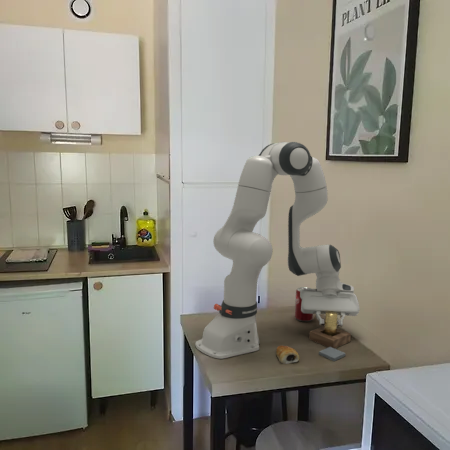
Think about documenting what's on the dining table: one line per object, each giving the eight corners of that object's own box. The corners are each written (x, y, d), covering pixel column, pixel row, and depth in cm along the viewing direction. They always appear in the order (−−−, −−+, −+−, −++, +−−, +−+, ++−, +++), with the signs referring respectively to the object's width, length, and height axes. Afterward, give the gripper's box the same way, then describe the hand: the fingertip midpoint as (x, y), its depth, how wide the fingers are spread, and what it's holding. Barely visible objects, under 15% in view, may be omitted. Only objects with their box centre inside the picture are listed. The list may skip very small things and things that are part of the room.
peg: (330, 343, 152) (332, 316, 151) (321, 340, 155) (323, 312, 154) (337, 341, 155) (339, 313, 153) (328, 337, 158) (330, 310, 156)
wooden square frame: (333, 349, 148) (333, 340, 148) (309, 339, 155) (309, 331, 155) (350, 341, 154) (350, 333, 154) (326, 332, 162) (327, 324, 161)
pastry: (271, 351, 145) (271, 341, 145) (290, 350, 147) (291, 339, 146) (281, 365, 136) (282, 353, 136) (301, 363, 138) (302, 352, 137)
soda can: (291, 319, 173) (293, 290, 172) (297, 314, 180) (299, 285, 178) (309, 323, 170) (311, 293, 168) (315, 317, 177) (317, 288, 175)
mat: (334, 361, 139) (334, 358, 139) (318, 354, 144) (319, 351, 144) (345, 356, 143) (345, 353, 143) (329, 349, 148) (330, 346, 148)
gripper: (300, 284, 160) (301, 319, 152) (358, 286, 158) (362, 323, 150) (299, 292, 165) (299, 327, 157) (354, 295, 163) (358, 330, 155)
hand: (331, 325), depth 153 cm, fingers open, 5 cm apart
